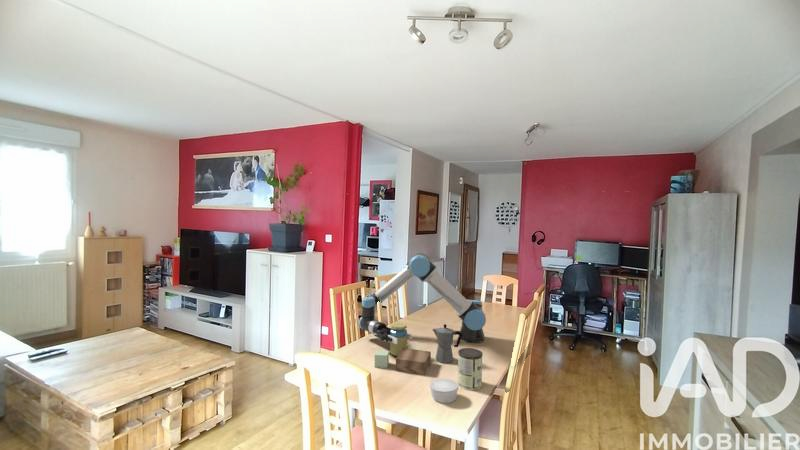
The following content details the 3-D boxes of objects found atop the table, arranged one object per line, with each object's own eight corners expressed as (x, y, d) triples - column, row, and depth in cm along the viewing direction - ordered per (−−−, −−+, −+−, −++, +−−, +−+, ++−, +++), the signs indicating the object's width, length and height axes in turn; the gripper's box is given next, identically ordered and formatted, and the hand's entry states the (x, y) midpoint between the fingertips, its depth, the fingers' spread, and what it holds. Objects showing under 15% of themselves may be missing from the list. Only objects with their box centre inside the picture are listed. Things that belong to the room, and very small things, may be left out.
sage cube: (388, 362, 171) (388, 350, 171) (386, 368, 165) (387, 355, 165) (376, 362, 171) (376, 350, 171) (374, 367, 165) (374, 354, 165)
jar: (393, 358, 175) (394, 328, 175) (387, 351, 183) (387, 323, 183) (410, 355, 178) (410, 326, 178) (402, 349, 187) (403, 321, 187)
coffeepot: (429, 361, 174) (429, 325, 173) (434, 354, 182) (435, 320, 182) (459, 366, 168) (460, 329, 168) (463, 359, 177) (464, 324, 177)
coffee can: (461, 377, 156) (461, 346, 156) (484, 382, 152) (484, 350, 152) (454, 387, 147) (455, 354, 147) (479, 392, 143) (479, 358, 142)
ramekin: (426, 401, 135) (426, 388, 135) (433, 388, 145) (434, 376, 145) (454, 407, 131) (454, 393, 131) (460, 394, 141) (460, 381, 141)
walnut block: (430, 363, 171) (430, 351, 171) (425, 375, 158) (425, 362, 158) (403, 360, 175) (403, 348, 175) (395, 371, 162) (395, 358, 162)
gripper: (392, 331, 202) (419, 342, 184) (361, 339, 188) (387, 351, 170) (393, 318, 202) (419, 328, 184) (362, 325, 188) (387, 336, 170)
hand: (404, 339), depth 177 cm, fingers closed on jar, 9 cm apart
